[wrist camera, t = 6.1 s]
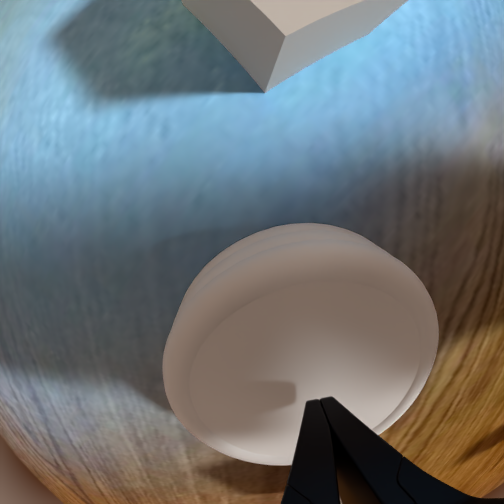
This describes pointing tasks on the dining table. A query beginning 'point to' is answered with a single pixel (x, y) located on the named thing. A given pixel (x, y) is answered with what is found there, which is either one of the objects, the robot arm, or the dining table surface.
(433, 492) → the robot arm
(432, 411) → the dining table surface
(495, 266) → the dining table surface
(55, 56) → the dining table surface
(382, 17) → the block seven
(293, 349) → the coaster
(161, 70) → the dining table surface
